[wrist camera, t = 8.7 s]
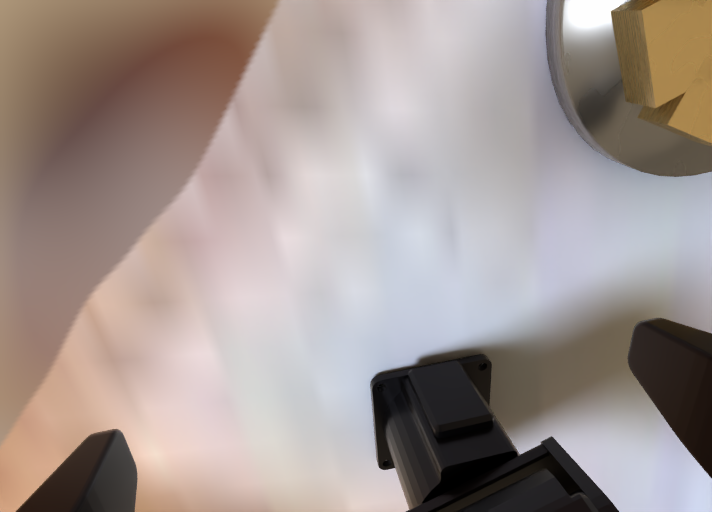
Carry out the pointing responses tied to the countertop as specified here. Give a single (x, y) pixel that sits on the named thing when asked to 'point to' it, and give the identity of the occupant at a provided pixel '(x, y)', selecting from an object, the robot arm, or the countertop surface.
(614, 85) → the round metal dish
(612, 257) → the countertop surface
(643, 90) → the tan curved piece
